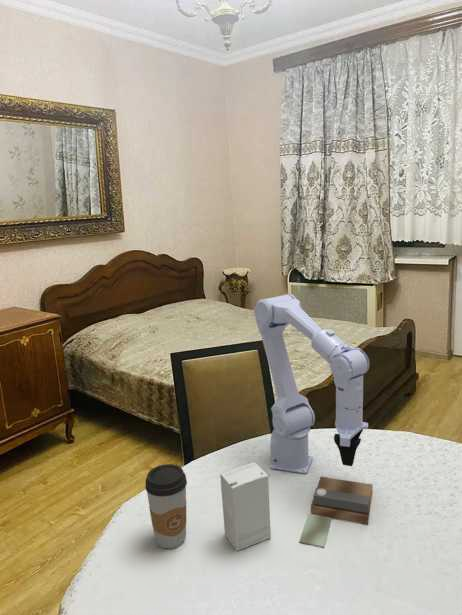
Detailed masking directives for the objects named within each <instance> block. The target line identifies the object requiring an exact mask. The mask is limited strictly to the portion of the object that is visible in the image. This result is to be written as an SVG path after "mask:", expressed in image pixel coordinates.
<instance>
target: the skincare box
mask: <svg viewBox="0 0 462 615" xmlns="http://www.w3.org/2000/svg"><path fill="white" fill-rule="evenodd" d="M219 478H220V490H221V501H222V513H223V514H222V515H223V527H224V535H225V537H226V538H227V540H228V541H229V540H230V541H229V543H230V544H231V543H232V544H231V545H232V547H233V546H234V547H235V548H234V547H233V548H234V549H235V551H236V550H239V551H241V550H243V548H244V549H246V548H249V547H250V545H251V546H252V545H255V544H258V543H260V542H263V541H265V540H268V539H271V538H272V536H271V535H272V534H271V532H272V531H271V530H272V529H271V512H270V511H271V510H270V492H269V488H270V486H269V475H268V474H267V473H266V472H265V471H264V470H263V469H262V468H261V467H260V466H259V465H258V464H257V463H256V462H255V461H253V462H251V463H248V464H247V463H246V464H245V465H242V466H239V467H236V468H233V469H231V470H226V471H225V472H222V473H220V474H219ZM248 546H249V547H248ZM245 547H246V548H245ZM240 549H241V550H240Z"/></svg>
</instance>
